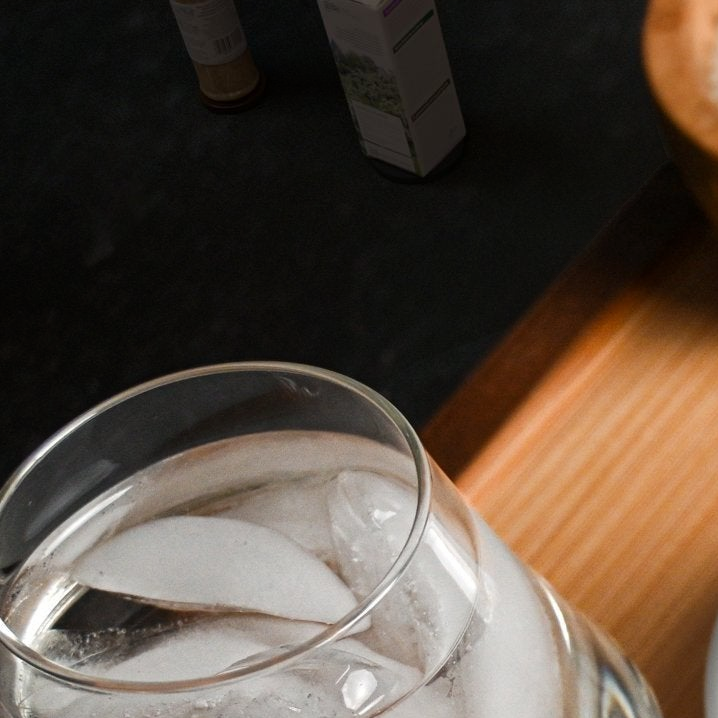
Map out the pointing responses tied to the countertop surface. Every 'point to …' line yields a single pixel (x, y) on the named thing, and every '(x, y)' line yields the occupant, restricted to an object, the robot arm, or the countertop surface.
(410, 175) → the side coaster
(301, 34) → the countertop surface
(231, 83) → the sprinkles bottle
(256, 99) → the back coaster
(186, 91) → the countertop surface
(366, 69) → the syrup box
